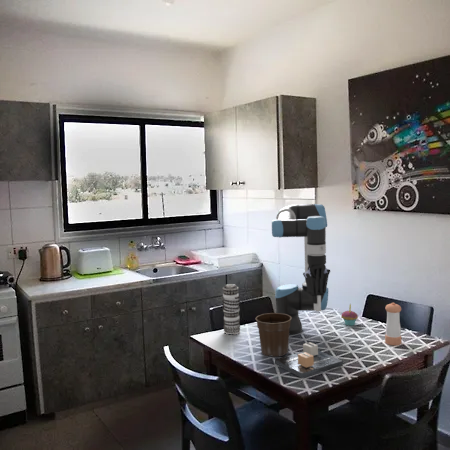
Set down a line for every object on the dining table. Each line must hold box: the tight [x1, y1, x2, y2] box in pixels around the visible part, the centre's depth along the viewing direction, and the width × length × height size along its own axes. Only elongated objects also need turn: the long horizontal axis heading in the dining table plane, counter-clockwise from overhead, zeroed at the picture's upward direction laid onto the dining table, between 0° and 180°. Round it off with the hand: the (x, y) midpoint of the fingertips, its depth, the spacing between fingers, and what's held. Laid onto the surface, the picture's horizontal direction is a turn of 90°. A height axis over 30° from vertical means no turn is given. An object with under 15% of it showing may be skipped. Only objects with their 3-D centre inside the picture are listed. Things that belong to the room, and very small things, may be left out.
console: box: [274, 349, 344, 379], centre depth 205 cm, size 18×22×2 cm
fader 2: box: [298, 352, 314, 367], centre depth 199 cm, size 5×4×4 cm
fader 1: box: [302, 342, 319, 356], centre depth 210 cm, size 5×4×4 cm
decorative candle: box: [221, 283, 241, 335], centre depth 249 cm, size 9×9×25 cm
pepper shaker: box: [384, 302, 403, 346], centre depth 226 cm, size 7×7×19 cm
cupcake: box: [340, 303, 359, 327], centre depth 256 cm, size 9×8×12 cm
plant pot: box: [255, 312, 292, 358], centre depth 220 cm, size 16×16×16 cm
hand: (317, 310), depth 200 cm, fingers closed
